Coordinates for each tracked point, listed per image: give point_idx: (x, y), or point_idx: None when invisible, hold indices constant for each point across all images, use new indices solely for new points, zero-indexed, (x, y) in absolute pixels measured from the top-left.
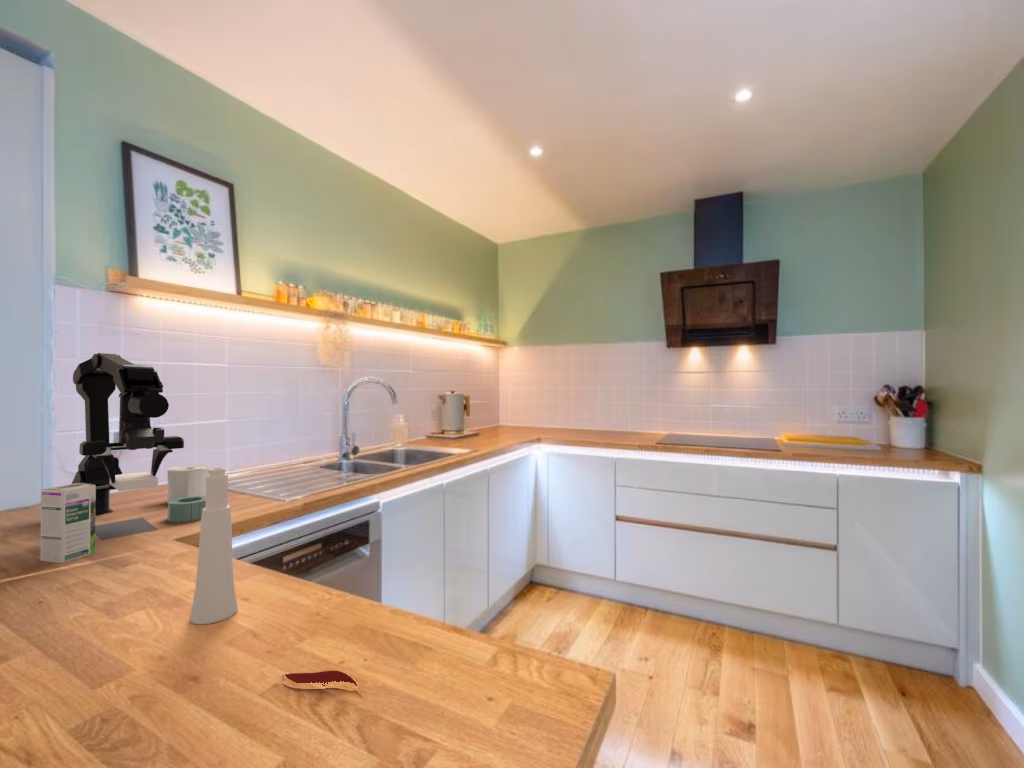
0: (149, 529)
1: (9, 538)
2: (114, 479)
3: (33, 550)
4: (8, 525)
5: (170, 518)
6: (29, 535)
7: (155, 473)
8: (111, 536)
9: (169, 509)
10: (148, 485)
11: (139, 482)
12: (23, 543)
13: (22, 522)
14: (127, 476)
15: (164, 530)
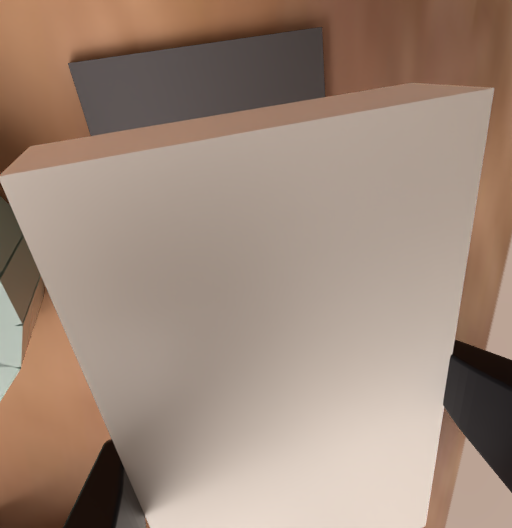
0: (118, 99)
1: (493, 308)
2: (453, 352)
3: (494, 94)
4: (464, 441)
5: (17, 229)
6: (458, 316)
7: (88, 491)
8: (282, 74)
9: (15, 268)
10: (143, 129)
11: (261, 125)
12: (488, 224)
13: (440, 458)
14: (344, 461)
15: (35, 67)
